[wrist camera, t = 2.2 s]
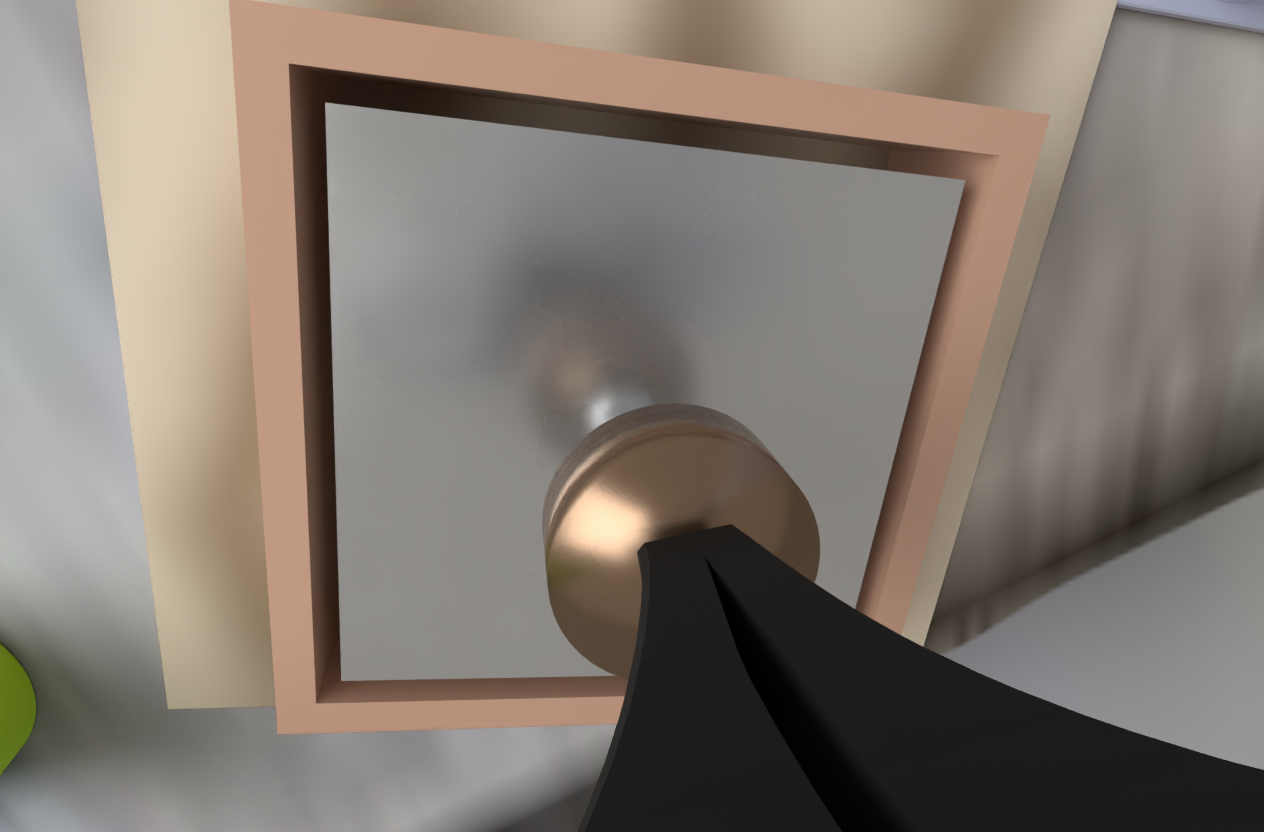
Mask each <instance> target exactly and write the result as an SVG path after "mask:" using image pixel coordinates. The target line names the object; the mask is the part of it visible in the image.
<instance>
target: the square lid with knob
mask: <svg viewBox="0 0 1264 832" xmlns="http://www.w3.org/2000/svg"><path fill="white" fill-rule="evenodd" d="M325 113H326V149H327V185H328V221H329V256H330V292H331V328H332V364H333V400H334V436H335V472H336V508H337V543H338V579H339V615H340V651H341V681H364V680H417V679H471V678H524V677H578V676H618V677H621V678H624V679H629V675H630V670H631V666H632V661H633V656H634V652H635V646H636V640H637V633H638V624H639V616H640V608H641V593H642V579H641V573H640V567H639V561H638V555H637V551H638V550H639V549H640V547H641V546H642V545H643V544H644V543H646V542H650V541H655V540H660V539H664V538H669V537H674V536H678V535H683V534H687V533H692V532H697V531H701V530H706V529H710V528H715V527H720V526H724V525H729V524H732V525H733V526H735V527H736V528H738V529H739V530H741V531H742V532H743V533H745V534H746V535H748V536H749V537H750V538H752V539H753V540H755V541H756V542H757V543H759V544H760V545H761V546H763V547H764V548H765V549H767V550H768V551H770V552H771V553H772V554H774V555H775V556H776V557H778V558H779V559H781V560H782V561H783V562H785V563H786V564H788V565H789V566H790V567H792V568H793V569H795V570H796V571H798V572H799V573H800V574H802V575H803V576H805V577H806V578H808V579H809V580H811V581H812V582H814V583H815V584H817V585H818V586H820V587H821V588H823V589H824V590H826V591H827V592H829V593H830V594H832V595H833V596H835V597H837V598H838V599H840V600H841V601H843V602H844V603H846V604H848V605H849V606H851V607H853V608H854V609H855V608H856V604H857V600H858V596H859V593H860V589H861V585H862V581H863V577H864V573H865V569H866V565H867V561H868V557H869V554H870V550H871V546H872V542H873V538H874V534H875V530H876V526H877V522H878V519H879V515H880V511H881V507H882V503H883V499H884V495H885V491H886V487H887V484H888V480H889V476H890V472H891V468H892V464H893V460H894V456H895V452H896V449H897V445H898V441H899V437H900V433H901V429H902V425H903V421H904V417H905V414H906V410H907V406H908V402H909V398H910V394H911V390H912V386H913V382H914V379H915V375H916V371H917V367H918V363H919V359H920V355H921V351H922V347H923V344H924V340H925V336H926V332H927V328H928V324H929V320H930V316H931V312H932V309H933V305H934V301H935V297H936V293H937V289H938V285H939V281H940V277H941V273H942V270H943V266H944V262H945V258H946V254H947V250H948V246H949V242H950V238H951V235H952V231H953V227H954V223H955V219H956V215H957V211H958V207H959V203H960V200H961V196H962V192H963V188H964V184H965V180H960V179H951V178H943V177H935V176H927V175H919V174H910V173H902V172H894V171H886V170H877V169H869V168H861V167H853V166H844V165H836V164H828V163H820V162H811V161H803V160H795V159H787V158H778V157H770V156H762V155H754V154H745V153H737V152H729V151H721V150H712V149H704V148H696V147H688V146H679V145H671V144H663V143H655V142H646V141H638V140H630V139H622V138H613V137H605V136H597V135H589V134H580V133H572V132H564V131H556V130H547V129H539V128H531V127H523V126H514V125H506V124H498V123H490V122H481V121H473V120H465V119H457V118H448V117H440V116H432V115H424V114H415V113H407V112H399V111H391V110H382V109H374V108H366V107H358V106H349V105H341V104H333V103H325Z"/></svg>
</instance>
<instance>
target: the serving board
mask: <svg viewBox="0 0 1264 832" xmlns="http://www.w3.org/2000/svg"><path fill="white" fill-rule="evenodd" d="M253 1H260V2H267V3H274V4H281V5H288V6H295V7H302V8H309V9H316V10H323V11H330V12H337V13H344V14H351V15H358V16H365V17H372V18H379V19H385V20H392V21H399V22H406V23H413V24H420V25H427V26H434V27H441V28H448V29H455V30H462V31H469V32H476V33H483V34H490V35H497V36H504V37H511V38H518V39H525V40H532V41H539V42H546V43H553V44H560V45H567V46H574V47H581V48H588V49H595V50H602V51H609V52H616V53H623V54H630V55H636V56H643V57H650V58H657V59H664V60H671V61H678V62H685V63H692V64H699V65H706V66H713V67H720V68H727V69H734V70H741V71H748V72H755V73H762V74H769V75H776V76H783V77H790V78H797V79H804V80H811V81H818V82H825V83H832V84H839V85H846V86H853V87H860V88H867V89H874V90H881V91H887V92H894V93H901V94H908V95H915V96H922V97H929V98H936V99H943V100H950V101H957V102H964V103H971V104H978V105H985V106H992V107H999V108H1006V109H1013V110H1020V111H1027V112H1034V113H1041V114H1048V115H1050V118H1049V122H1048V125H1047V129H1046V132H1045V136H1044V139H1043V143H1042V146H1041V150H1040V153H1039V157H1038V160H1037V164H1036V167H1035V171H1034V174H1033V178H1032V181H1031V185H1030V188H1029V192H1028V195H1027V198H1026V202H1025V205H1024V209H1023V212H1022V216H1021V219H1020V223H1019V226H1018V230H1017V233H1016V237H1015V240H1014V244H1013V247H1012V251H1011V254H1010V258H1009V261H1008V265H1007V268H1006V272H1005V275H1004V279H1003V282H1002V286H1001V289H1000V293H999V296H998V300H997V303H996V307H995V310H994V314H993V317H992V321H991V324H990V328H989V331H988V335H987V338H986V342H985V345H984V349H983V352H982V355H981V359H980V362H979V366H978V369H977V373H976V376H975V380H974V383H973V387H972V390H971V394H970V397H969V401H968V404H967V408H966V411H965V415H964V418H963V422H962V425H961V429H960V432H959V436H958V439H957V443H956V446H955V450H954V453H953V457H952V460H951V464H950V467H949V471H948V474H947V478H946V481H945V485H944V488H943V492H942V495H941V499H940V502H939V506H938V509H937V512H936V516H935V519H934V523H933V526H932V530H931V533H930V537H929V540H928V544H927V547H926V551H925V554H924V558H923V561H922V565H921V568H920V572H919V575H918V579H917V582H916V586H915V589H914V593H913V596H912V600H911V603H910V607H909V610H908V614H907V617H906V621H905V624H904V628H903V631H902V636H903V637H905V638H907V639H909V640H911V641H913V642H915V643H917V644H919V645H921V646H924V643H925V639H926V636H927V633H928V629H929V626H930V623H931V619H932V616H933V613H934V609H935V606H936V603H937V599H938V596H939V593H940V589H941V586H942V583H943V579H944V576H945V573H946V569H947V566H948V563H949V560H950V556H951V553H952V550H953V546H954V543H955V540H956V536H957V533H958V530H959V526H960V523H961V520H962V516H963V513H964V510H965V506H966V503H967V500H968V496H969V493H970V490H971V486H972V483H973V480H974V476H975V473H976V470H977V466H978V463H979V460H980V456H981V453H982V450H983V446H984V443H985V440H986V437H987V433H988V430H989V427H990V423H991V420H992V417H993V413H994V410H995V407H996V403H997V400H998V397H999V393H1000V390H1001V387H1002V383H1003V380H1004V377H1005V373H1006V370H1007V367H1008V363H1009V360H1010V357H1011V353H1012V350H1013V347H1014V343H1015V340H1016V337H1017V333H1018V330H1019V327H1020V324H1021V320H1022V317H1023V314H1024V310H1025V307H1026V304H1027V300H1028V297H1029V294H1030V290H1031V287H1032V284H1033V280H1034V277H1035V274H1036V270H1037V267H1038V264H1039V260H1040V257H1041V254H1042V250H1043V247H1044V244H1045V240H1046V237H1047V234H1048V230H1049V227H1050V224H1051V220H1052V217H1053V214H1054V211H1055V207H1056V204H1057V201H1058V197H1059V194H1060V191H1061V187H1062V184H1063V181H1064V177H1065V174H1066V171H1067V167H1068V164H1069V161H1070V157H1071V154H1072V151H1073V147H1074V144H1075V141H1076V137H1077V134H1078V131H1079V127H1080V124H1081V121H1082V117H1083V114H1084V111H1085V107H1086V104H1087V101H1088V97H1089V94H1090V91H1091V88H1092V84H1093V81H1094V78H1095V74H1096V71H1097V68H1098V64H1099V61H1100V58H1101V54H1102V51H1103V48H1104V44H1105V41H1106V38H1107V34H1108V31H1109V28H1110V24H1111V21H1112V18H1113V14H1114V11H1115V8H1116V4H1117V1H1116V0H253ZM76 5H77V13H78V20H79V28H80V36H81V44H82V51H83V59H84V67H85V74H86V82H87V90H88V97H89V105H90V113H91V121H92V128H93V136H94V144H95V151H96V159H97V167H98V175H99V182H100V190H101V198H102V205H103V213H104V221H105V229H106V236H107V244H108V252H109V259H110V267H111V275H112V282H113V290H114V298H115V306H116V313H117V321H118V329H119V336H120V344H121V352H122V360H123V367H124V375H125V383H126V390H127V398H128V406H129V414H130V421H131V429H132V437H133V444H134V452H135V460H136V467H137V475H138V483H139V491H140V498H141V506H142V514H143V521H144V529H145V537H146V545H147V552H148V560H149V568H150V575H151V583H152V591H153V599H154V606H155V614H156V622H157V629H158V637H159V645H160V652H161V660H162V668H163V676H164V683H165V691H166V699H167V706H168V709H195V708H235V707H276V702H275V687H274V672H273V657H272V642H271V627H270V612H269V597H268V582H267V567H266V552H265V537H264V522H263V507H262V492H261V477H260V462H259V447H258V432H257V417H256V402H255V387H254V372H253V357H252V342H251V327H250V312H249V297H248V282H247V267H246V252H245V237H244V221H243V206H242V191H241V176H240V161H239V146H238V131H237V116H236V101H235V86H234V71H233V56H232V41H231V26H230V11H229V0H76ZM342 83H343V105H349V106H358V107H366V108H374V109H382V110H391V111H399V112H407V113H415V114H424V115H432V116H440V117H448V118H457V119H465V120H473V121H481V122H490V123H498V124H506V125H514V126H523V127H531V128H539V129H547V130H556V131H564V132H572V133H580V134H589V135H597V136H605V137H613V138H622V139H630V140H638V141H646V142H655V143H663V144H671V145H679V146H688V147H696V148H704V149H712V150H721V151H729V152H737V153H745V154H754V155H762V156H770V157H778V158H787V159H795V160H803V161H811V162H820V163H828V164H836V165H844V166H853V167H861V168H869V169H877V170H887V166H888V161H889V157H890V152H891V149H887V148H880V147H872V146H864V145H856V144H848V143H840V142H833V141H825V140H817V139H809V138H801V137H793V136H785V135H778V134H770V133H762V132H754V131H746V130H738V129H731V128H723V127H715V126H707V125H699V124H691V123H684V122H676V121H668V120H660V119H652V118H644V117H636V116H629V115H621V114H613V113H605V112H597V111H589V110H582V109H574V108H566V107H558V106H550V105H542V104H534V103H527V102H519V101H511V100H503V99H495V98H487V97H480V96H472V95H464V94H456V93H448V92H440V91H432V90H425V89H417V88H409V87H401V86H393V85H385V84H378V83H370V82H362V81H354V80H346V79H342Z"/></svg>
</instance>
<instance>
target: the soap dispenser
mask: <svg viewBox="0 0 1264 832" xmlns="http://www.w3.org/2000/svg"><path fill="white" fill-rule="evenodd" d="M35 717H36V698H35V693H34V690H33V687H32V684H31V682H30V679H29V677H28V676H27V674H26V672H25V670H24V669H23V667H22V666H21V665H20V663H19V662H18V661H17V660H16V658H15V657H14V656H13V655H12V654H11V653H10V652H9V651H8V650H7V649H6V648H5V647H4V646H2V645H1V644H0V775H1V774H2V772H3V771H4V770H5V769H6V767H7V766H8V765H9V763H10V762H11V761H12V760H13V758H14V757H15V756H16V754H17V753H18V752H19V750H20V749H21V748H22V747H23V745H24V744H25V742H26V741H27V739H28V737H29V736H30V734H31V731H32V729H33V726H34V722H35Z"/></svg>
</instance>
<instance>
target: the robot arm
mask: <svg viewBox="0 0 1264 832" xmlns="http://www.w3.org/2000/svg"><path fill="white" fill-rule="evenodd" d="M1116 1H1117V4H1116V7H1118V8H1124V9H1129V10H1135V11H1141V12H1146V13H1152V14H1157V15H1163V16H1169V17H1174V18H1180V19H1185V20H1191V21H1197V22H1202V23H1208V24H1213V25H1219V26H1225V27H1230V28H1236V29H1241V30H1247V31H1253V32H1258V33H1264V0H1116ZM637 555H638V561H639V567H640V573H641V579H642V593H641V608H640V616H639V624H638V633H637V640H636V646H635V652H634V656H633V661H632V666H631V670H630V675H629V679H628V684H627V689H626V693H625V697H624V701H623V705H622V708H621V712H620V716H619V719H618V723H617V726H616V729H615V733H614V736H613V739H612V742H611V745H610V748H609V751H608V754H607V757H606V760H605V763H604V766H603V769H602V771H601V774H600V776H599V779H598V782H597V784H596V787H595V790H594V792H593V795H592V797H591V800H590V803H589V805H588V808H587V810H586V813H585V815H584V818H583V820H582V823H581V825H580V827H579V830H578V832H1264V770H1261V769H1257V768H1253V767H1250V766H1246V765H1241V764H1238V763H1233V762H1230V761H1227V760H1223V759H1220V758H1216V757H1213V756H1209V755H1206V754H1203V753H1199V752H1196V751H1193V750H1190V749H1187V748H1183V747H1180V746H1177V745H1173V744H1170V743H1167V742H1164V741H1160V740H1157V739H1154V738H1151V737H1147V736H1145V735H1141V734H1138V733H1134V732H1132V731H1129V730H1126V729H1123V728H1120V727H1117V726H1114V725H1111V724H1108V723H1105V722H1103V721H1100V720H1097V719H1094V718H1091V717H1088V716H1085V715H1082V714H1080V713H1077V712H1074V711H1072V710H1069V709H1067V708H1064V707H1061V706H1059V705H1056V704H1054V703H1051V702H1048V701H1046V700H1043V699H1041V698H1038V697H1035V696H1033V695H1030V694H1028V693H1025V692H1023V691H1020V690H1017V689H1014V688H1012V687H1010V686H1008V685H1005V684H1003V683H1001V682H998V681H996V680H994V679H991V678H989V677H986V676H984V675H982V674H980V673H977V672H975V671H973V670H971V669H969V668H967V667H965V666H963V665H960V664H958V663H956V662H954V661H952V660H950V659H948V658H946V657H944V656H941V655H939V654H937V653H935V652H933V651H931V650H929V649H927V648H925V647H923V646H921V645H919V644H917V643H915V642H913V641H911V640H909V639H907V638H905V637H903V636H902V635H900V634H898V633H896V632H894V631H893V630H891V629H889V628H887V627H886V626H884V625H882V624H880V623H879V622H877V621H875V620H873V619H871V618H870V617H868V616H866V615H864V614H863V613H861V612H859V611H857V610H856V609H854V608H853V607H851V606H849V605H848V604H846V603H844V602H843V601H841V600H840V599H838V598H837V597H835V596H833V595H832V594H830V593H829V592H827V591H826V590H824V589H823V588H821V587H820V586H818V585H817V584H815V583H814V582H812V581H811V580H809V579H808V578H806V577H805V576H803V575H802V574H800V573H799V572H798V571H796V570H795V569H793V568H792V567H790V566H789V565H788V564H786V563H785V562H783V561H782V560H781V559H779V558H778V557H776V556H775V555H774V554H772V553H771V552H770V551H768V550H767V549H765V548H764V547H763V546H761V545H760V544H759V543H757V542H756V541H755V540H753V539H752V538H750V537H749V536H748V535H746V534H745V533H743V532H742V531H741V530H739V529H738V528H736V527H735V526H733V525H732V524H729V525H724V526H720V527H715V528H710V529H706V530H701V531H697V532H692V533H687V534H683V535H678V536H674V537H669V538H664V539H660V540H655V541H650V542H646V543H644V544H643V545H642V546H641V547H640V549H639V550H638V551H637Z"/></svg>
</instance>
